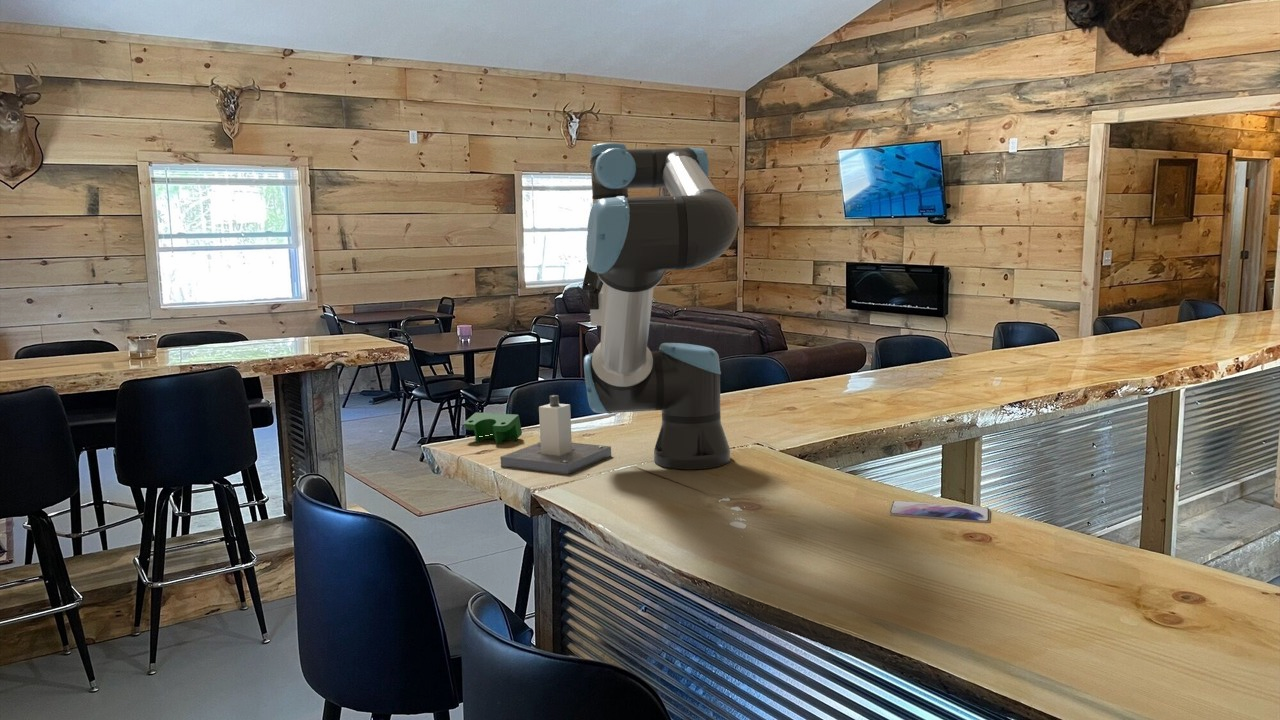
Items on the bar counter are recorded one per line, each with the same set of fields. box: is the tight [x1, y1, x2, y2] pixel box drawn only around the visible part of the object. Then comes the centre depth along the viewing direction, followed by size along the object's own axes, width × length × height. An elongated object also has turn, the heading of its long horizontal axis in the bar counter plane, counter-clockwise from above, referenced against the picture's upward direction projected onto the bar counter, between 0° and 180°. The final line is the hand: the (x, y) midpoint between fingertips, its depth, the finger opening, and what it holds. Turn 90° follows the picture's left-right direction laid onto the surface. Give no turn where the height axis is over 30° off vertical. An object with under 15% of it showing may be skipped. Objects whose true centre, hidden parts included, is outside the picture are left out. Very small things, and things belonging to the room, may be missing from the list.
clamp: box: [464, 412, 523, 445], centre depth 207 cm, size 12×6×9 cm, turn 61°
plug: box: [538, 394, 573, 456], centre depth 186 cm, size 4×4×13 cm
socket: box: [500, 441, 612, 476], centre depth 187 cm, size 16×16×3 cm
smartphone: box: [888, 500, 991, 524], centre depth 147 cm, size 7×1×15 cm
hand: (614, 322), depth 195 cm, fingers open, 13 cm apart
